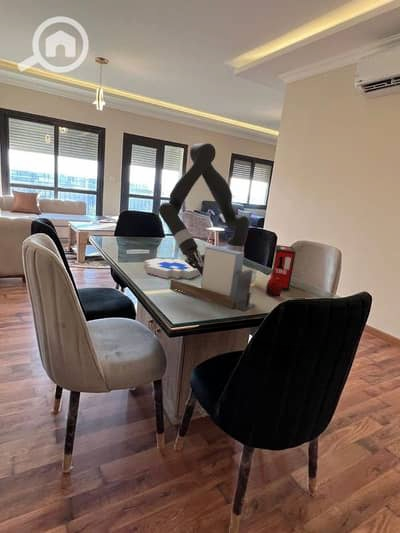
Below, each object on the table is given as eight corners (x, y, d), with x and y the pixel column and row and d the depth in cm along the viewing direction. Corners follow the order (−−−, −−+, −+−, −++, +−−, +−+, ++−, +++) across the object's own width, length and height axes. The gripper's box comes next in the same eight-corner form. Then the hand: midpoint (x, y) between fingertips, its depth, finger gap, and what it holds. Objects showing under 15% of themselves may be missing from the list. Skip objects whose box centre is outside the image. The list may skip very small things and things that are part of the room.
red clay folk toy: (283, 297, 146) (289, 265, 143) (272, 298, 143) (278, 266, 139) (272, 292, 153) (277, 261, 149) (261, 293, 149) (266, 262, 146)
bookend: (244, 301, 134) (249, 269, 131) (256, 304, 131) (261, 272, 128) (229, 308, 124) (234, 274, 120) (242, 312, 121) (247, 277, 118)
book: (207, 292, 141) (213, 245, 136) (237, 301, 133) (244, 252, 128) (199, 295, 135) (205, 247, 131) (229, 305, 127) (237, 254, 123)
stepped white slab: (206, 265, 176) (180, 274, 152) (206, 272, 177) (180, 282, 153) (165, 256, 188) (134, 263, 164) (164, 262, 189) (134, 270, 165)
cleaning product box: (269, 280, 174) (275, 244, 170) (286, 283, 172) (292, 247, 168) (270, 288, 158) (276, 249, 154) (288, 291, 157) (295, 252, 152)
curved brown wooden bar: (186, 283, 151) (187, 275, 150) (249, 302, 134) (250, 293, 133) (170, 288, 141) (170, 279, 140) (235, 309, 123) (237, 299, 122)
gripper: (181, 238, 133) (202, 272, 129) (199, 236, 144) (218, 268, 140) (170, 247, 137) (190, 282, 133) (189, 245, 148) (207, 277, 144)
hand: (205, 275), depth 137 cm, fingers closed
